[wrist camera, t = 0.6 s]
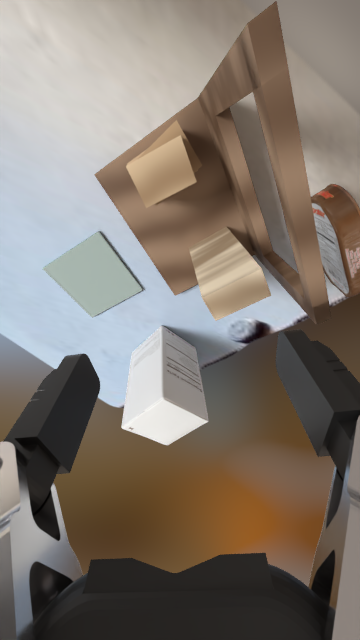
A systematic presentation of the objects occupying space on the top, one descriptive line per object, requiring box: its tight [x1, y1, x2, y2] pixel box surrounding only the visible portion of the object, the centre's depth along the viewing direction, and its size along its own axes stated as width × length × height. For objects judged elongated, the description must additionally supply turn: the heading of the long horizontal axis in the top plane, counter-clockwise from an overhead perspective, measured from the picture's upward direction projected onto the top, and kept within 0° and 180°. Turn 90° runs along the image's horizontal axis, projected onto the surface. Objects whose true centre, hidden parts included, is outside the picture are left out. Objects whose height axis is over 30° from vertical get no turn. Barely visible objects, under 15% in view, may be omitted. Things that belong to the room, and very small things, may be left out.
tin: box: [311, 184, 360, 297], centre depth 29 cm, size 15×3×8 cm, turn 34°
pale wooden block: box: [189, 227, 271, 321], centre depth 26 cm, size 3×6×13 cm, turn 119°
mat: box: [43, 231, 143, 317], centre depth 34 cm, size 10×10×1 cm
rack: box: [95, 2, 331, 325], centre depth 22 cm, size 18×14×17 cm
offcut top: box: [126, 135, 197, 208], centre depth 20 cm, size 4×5×2 cm
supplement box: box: [122, 326, 209, 445], centre depth 37 cm, size 9×9×15 cm
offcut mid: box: [138, 120, 202, 206], centre depth 22 cm, size 4×6×2 cm
